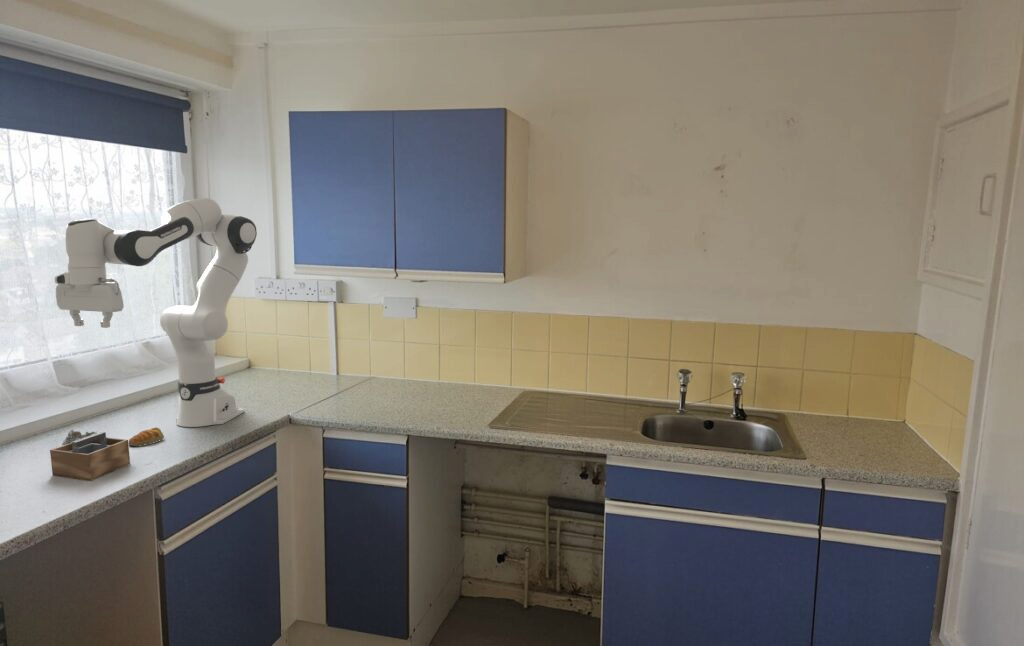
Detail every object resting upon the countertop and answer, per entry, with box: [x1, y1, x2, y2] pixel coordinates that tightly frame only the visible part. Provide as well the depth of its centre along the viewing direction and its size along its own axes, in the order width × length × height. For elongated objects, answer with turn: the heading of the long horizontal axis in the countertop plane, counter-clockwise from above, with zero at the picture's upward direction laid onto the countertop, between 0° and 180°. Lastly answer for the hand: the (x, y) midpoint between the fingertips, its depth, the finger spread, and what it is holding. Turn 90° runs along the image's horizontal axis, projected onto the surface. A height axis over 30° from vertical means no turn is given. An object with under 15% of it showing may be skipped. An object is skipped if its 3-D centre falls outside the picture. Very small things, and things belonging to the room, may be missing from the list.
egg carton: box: [61, 429, 98, 446], centre depth 200 cm, size 11×8×4 cm
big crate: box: [49, 436, 131, 482], centre depth 180 cm, size 13×13×7 cm
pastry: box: [128, 426, 165, 447], centre depth 203 cm, size 9×7×4 cm
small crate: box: [69, 431, 111, 454], centre depth 180 cm, size 9×9×9 cm
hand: (92, 326), depth 187 cm, fingers open, 8 cm apart
